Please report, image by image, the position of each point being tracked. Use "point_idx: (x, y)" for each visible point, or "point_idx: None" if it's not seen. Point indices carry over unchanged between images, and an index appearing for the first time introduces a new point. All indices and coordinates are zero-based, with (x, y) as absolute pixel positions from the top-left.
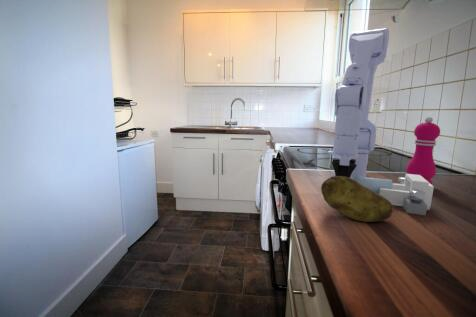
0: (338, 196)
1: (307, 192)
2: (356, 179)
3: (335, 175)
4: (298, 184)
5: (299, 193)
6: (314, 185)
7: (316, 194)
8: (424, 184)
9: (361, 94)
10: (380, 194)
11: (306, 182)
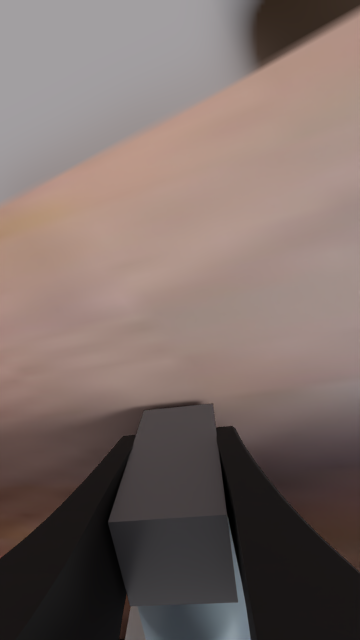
0: None
1: (78, 242)
2: (146, 625)
3: (44, 522)
4: (248, 103)
5: (18, 198)
6: (289, 240)
7: (75, 306)
8: None
9: None
10: (126, 635)
11: (354, 149)
